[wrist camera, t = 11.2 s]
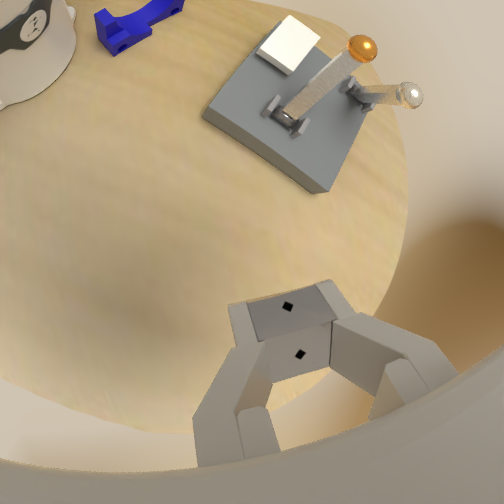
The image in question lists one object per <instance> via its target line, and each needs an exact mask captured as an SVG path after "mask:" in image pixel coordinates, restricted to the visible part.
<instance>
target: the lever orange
mask: <svg viewBox="0 0 504 504" xmlns="http://www.w3.org/2000/svg"><path fill="white" fill-rule="evenodd" d="M376 55H377V46H376V44H375V42H374V41H373V40H372V39H371V38H369V37H367V36H365V35H355V36H353V37H352V38H350V39H349V41H348V43H347V47H346V48H345V49H344V50H343V51H341V52H340V53H339V54H338V55H337V56H336V57H335V58H334V59H332V60H331V61H330V62H329V63H328V64H327V65H326V66H325V67H324V68H322V69H321V70H320V71H319V72H318V73H317V74H316V75H315V76H314V77H313V78H312V79H311V80H310V81H309V82H307V83H306V84H305V85H304V86H303V87H302V88H301V89H300V90H299V91H298V92H297V93H296V94H295V95H294V96H293V97H292V98H291V99H290V100H289V101H288V102H287V103H286V104H285V105H284V107H282V106H281V105H280V104H279V105H278V106H277V107H276V108H275V109H274V110H273V112H272V113H271V115H272V116H274V117H275V118H276V119H278V120H279V121H280V122H282V123H283V124H285V125H286V126H287V127H289V128H290V129H291V130H292V129H294V128H295V127H296V126H297V124H298V123H299V121H300V120H299V119H298V118H299V117H301V116H302V115H303V114H304V113H305V112H306V111H307V110H308V109H309V108H311V107H312V106H313V105H314V104H315V103H316V102H317V101H319V100H320V99H321V98H322V97H323V96H324V95H326V94H327V93H328V92H329V91H330V90H331V89H333V88H334V87H335V86H336V85H337V84H338V83H340V82H341V81H342V80H343V79H344V78H346V77H347V76H348V75H349V74H350V73H352V72H353V71H354V70H355V69H357V68H358V67H359V66H360V65H361V64H363V63H368V62H370V61H372V60H373V59H374V58H375V57H376Z"/></svg>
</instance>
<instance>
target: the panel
mask: <svg viewBox="0 0 504 504" xmlns="http://www.w3.org/2000/svg"><path fill="white" fill-rule="evenodd" d="M281 23H282V22H281V21H279V22H278V23H277V25H276V26H275V27H274V28H273V29H272V30H271V31H270V32H269V33H268V34H267V35H266V36H265V38H264V39H263V40H262V41H261V42H260V43H259V44H258V45H257V47H256V48H255V49H254V50H253V51H252V52H251V53H250V55H249V56H248V57H247V58H246V59H245V60H244V62H243V63H242V64H241V65H240V66H239V68H238V69H237V70H236V71H235V73H234V74H233V75H232V76H231V77H230V79H229V80H228V81H227V82H226V84H225V85H224V86H223V88H222V89H221V90H220V91H219V93H218V94H217V95H216V97H215V98H214V99H213V101H212V102H211V103H210V105H209V106H208V107H207V109H206V111H205V112H204V114H203V116H202V118H203V119H205V120H207V121H208V122H210V123H211V124H213V125H214V126H216V127H218V128H219V129H221V130H222V131H224V132H225V133H227V134H228V135H230V136H231V137H233V138H234V139H236V140H237V141H239V142H240V143H242V144H243V145H245V146H246V147H248V148H249V149H251V150H252V151H254V152H255V153H257V154H258V155H259V156H261V157H262V158H264V159H265V160H267V161H268V162H269V163H271V164H272V165H274V166H275V167H276V168H278V169H279V170H281V171H282V172H283V173H285V174H286V175H288V176H289V177H290V178H292V179H293V180H294V181H296V182H297V183H298V184H300V185H301V186H302V187H304V188H305V189H306V190H308V191H309V192H310V193H312V194H317V193H325V192H329V191H330V189H331V187H332V185H333V183H334V181H335V179H336V177H337V175H338V173H339V171H340V168H341V166H342V164H343V162H344V160H345V158H346V156H347V154H348V152H349V150H350V148H351V146H352V144H353V142H354V140H355V138H356V135H357V133H358V131H359V129H360V127H361V125H362V123H363V121H364V118H365V116H366V114H367V112H369V111H371V110H373V109H374V107H375V105H376V104H375V103H367V104H366V105H364V106H363V105H361V104H360V103H359V102H358V101H357V100H356V99H355V98H354V97H353V96H352V95H351V94H349V93H348V92H347V90H349V89H351V87H352V86H353V84H355V85H356V86H357V87H358V88H359V87H360V86H361V85H360V84H359V83H358V82H357V81H356V78H355V77H354V76H352V77H351V76H350V75H348V76H347V77H346V78H344V79H343V80H342V81H341V82H340V83H338V84H337V85H336V86H335V87H334V88H333V89H331V90H330V91H329V92H328V93H327V94H326V95H324V96H323V97H322V98H321V99H320V100H319V101H317V102H316V103H315V104H314V105H313V106H312V107H311V108H309V109H308V110H307V111H306V112H305V113H304V114H303V115H302V116H301V117H299V118H298V119H299V120H300V121H299V123H298V124H297V126H296V127H295V128H294V129H292V130H291V129H290V128H289V127H287V126H286V125H285V124H283V123H282V122H280V121H279V120H278V119H276V118H275V117H274V116H272V115H271V113H272V112H273V110H274V109H275V108H276V107H277V106H278V105H279V104H280V105H281V106H282V107H284V105H285V104H286V103H287V102H288V101H289V100H290V99H291V98H292V97H293V96H294V95H295V94H296V93H297V92H298V91H299V90H300V89H301V88H302V87H303V86H304V85H305V84H306V83H307V82H309V81H310V80H311V79H312V78H313V77H314V76H315V75H316V74H317V73H318V72H319V71H320V70H321V69H322V68H324V67H325V66H326V65H327V64H328V63H329V62H330V61H331V60H332V59H330V58H329V57H328V56H327V55H326V54H324V53H323V52H322V51H321V50H319V49H318V48H317V47H315V46H313V47H312V49H311V50H310V51H309V52H308V54H307V55H306V56H305V57H304V59H303V60H302V61H301V62H300V64H299V65H298V66H297V68H296V69H295V70H294V71H293V72H292V73H291V74H289V75H287V74H285V73H284V72H283V71H281V70H280V69H279V68H277V67H276V66H274V65H273V64H271V63H270V62H269V61H267V60H266V59H264V58H263V57H261V56H260V55H258V54H257V53H256V52H257V51H258V49H259V48H260V47H261V46H262V45H263V43H264V42H265V41H266V40H267V39H268V38H269V37H270V36H271V34H272V33H273V32H274V31H275V30H276V29H277V28H278V27H279V26H280V24H281Z"/></svg>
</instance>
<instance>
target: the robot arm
mask: <svg viewBox="0 0 504 504" xmlns="http://www.w3.org/2000/svg"><path fill="white" fill-rule="evenodd" d="M75 17H76V11H75V8H74V7H70V6H67V5H66V3H65V0H0V110H2V109H3V108H5V107H6V106H8V105H10V104H14V103H18V102H22V101H25V100H27V99H29V98H32V97H34V96H35V95H37V94H39V93H40V92H42V91H43V90H45V89H46V88H47V87H48V86H50V85H51V84H52V83H53V82H54V81H55V80H56V79H57V78H58V77H59V76H60V75H61V73H62V72H63V71H64V70H65V68H66V67H67V65H68V64H69V62H70V60H71V58H72V56H73V53H74V50H75V46H76V34H75V30H74V26H73V24H74V21H75ZM228 312H229V317H230V321H231V326H232V330H233V334H234V339H235V343H236V348H232V349H231V350H230V351H229V353H228V355H227V357H226V359H225V361H224V362H223V364H222V366H221V368H220V370H219V371H218V373H217V375H216V377H215V379H214V380H213V382H212V384H211V386H210V388H209V389H208V391H207V393H206V395H205V397H204V398H203V400H202V402H201V404H200V405H199V407H198V409H197V411H196V412H195V414H194V416H193V418H192V419H193V429H194V438H195V447H196V455H197V463H198V467H197V468H189V469H179V470H170V471H169V470H168V471H153V472H90V471H77V470H65V469H56V468H49V467H42V466H35V465H30V464H24V463H19V462H14V461H9V460H5V459H1V458H0V504H504V344H503V345H502V346H500V347H499V348H498V349H497V350H495V351H494V352H492V353H491V354H489V355H488V356H487V357H485V358H484V359H482V360H481V361H479V362H478V363H476V364H475V365H473V366H472V367H471V368H469V369H468V370H466V371H464V372H463V373H461V374H459V373H458V372H457V370H456V369H455V368H454V366H453V365H452V364H451V363H450V361H449V360H448V359H447V358H446V356H445V355H444V354H443V353H442V351H441V350H440V349H439V347H438V346H437V345H436V344H435V343H434V342H433V341H431V340H428V339H426V338H424V337H421V336H418V335H416V334H414V333H411V332H409V331H406V330H404V329H401V328H399V327H396V326H394V325H391V324H389V323H386V322H384V321H381V320H379V319H376V318H374V317H372V316H369V315H367V314H364V313H362V312H360V313H357V314H356V312H355V311H354V309H353V308H352V307H351V305H350V304H349V303H348V301H347V300H346V298H345V297H344V296H343V294H342V293H341V292H340V290H339V289H338V287H337V286H336V285H335V283H334V282H333V281H332V280H330V279H328V280H325V281H322V282H318V283H315V284H313V285H309V286H306V287H302V288H298V289H294V290H291V291H287V292H283V293H278V294H274V295H270V296H265V297H261V298H256V299H252V300H247V301H246V302H245V301H244V302H239V303H234V304H230V305H228ZM329 366H330V368H331V369H333V370H334V371H336V372H337V373H339V374H340V375H342V376H343V377H345V378H346V379H348V380H349V381H351V382H352V383H354V384H355V385H357V386H359V387H360V388H362V389H363V390H365V391H366V392H368V393H369V394H371V395H373V396H374V397H375V400H374V403H373V406H372V408H371V411H370V414H369V416H368V418H369V420H370V421H369V422H366V423H364V424H361V425H359V426H356V427H354V428H351V429H349V430H346V431H343V432H341V433H338V434H335V435H333V436H330V437H327V438H324V439H321V440H317V441H315V442H312V443H308V444H305V445H301V446H298V447H295V448H291V449H288V450H284V451H280V448H279V444H278V441H277V438H276V435H275V431H274V428H273V425H272V422H271V419H270V415H269V412H268V409H266V408H265V407H266V404H267V401H268V398H269V395H270V392H271V388H272V385H273V384H272V383H275V382H278V381H282V380H285V379H288V378H292V377H295V376H298V375H301V374H305V373H308V372H312V371H315V370H319V369H322V368H326V367H329Z"/></svg>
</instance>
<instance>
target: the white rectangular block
mask: <svg viewBox="0 0 504 504" xmlns="http://www.w3.org/2000/svg"><path fill="white" fill-rule="evenodd" d="M320 38H321V37H319V36H318V35H317V34H315V33H314V32H313V31H311V30H310V29H309V28H307V27H306V26H305V25H303V24H302V23H300V22H299V21H298V20H296V19H295V18H293V17H292V16H291V15H289V16H288V17H287V18H286V19H285V20H284V21H283V22H282V23H281V24H280V26H279V27H278V28H277V29H276V30H275V31H274V32H273V33H272V34H271V36H270V37H269V38H268V39H267V40H266V41H265V42H264V43H263V45H262V46H261V47H260V48H259V49H258V51H257V52H256V53H257V54H258V55H260V56H261V57H263V58H264V59H266V60H267V61H269V62H270V63H271V64H273V65H274V66H276V67H277V68H279V69H280V70H281V71H283V72H284V73H285V74H287V75H289V74H291V73H292V72H293V71H294V70H295V69H296V68H297V66H298V65H299V64H300V62H301V61H302V60H303V59H304V57H305V56H306V55H307V54H308V52H309V51H310V50H311V49H312V47H313V46H314V45H315V44H316V42H317V41H318V40H319V39H320Z"/></svg>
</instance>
